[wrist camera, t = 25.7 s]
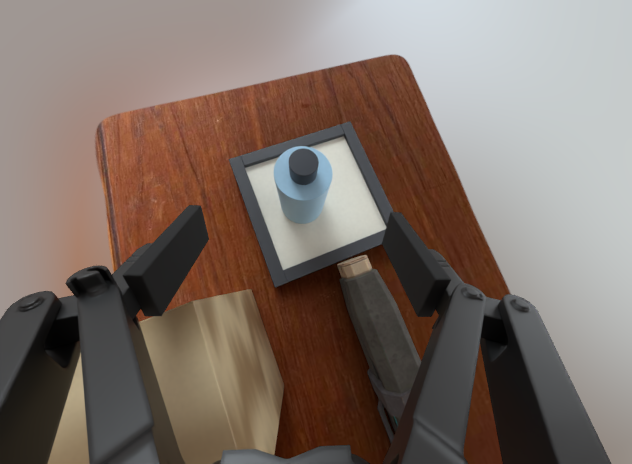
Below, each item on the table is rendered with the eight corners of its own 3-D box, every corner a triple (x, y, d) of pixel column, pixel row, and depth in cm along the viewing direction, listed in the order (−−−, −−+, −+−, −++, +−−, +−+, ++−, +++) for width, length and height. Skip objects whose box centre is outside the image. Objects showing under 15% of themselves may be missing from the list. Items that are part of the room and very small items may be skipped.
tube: (369, 255, 33) (486, 506, 25) (327, 273, 34) (427, 523, 25) (372, 242, 23) (576, 666, 14) (312, 267, 24) (473, 688, 15)
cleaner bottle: (275, 192, 30) (261, 143, 19) (313, 178, 31) (321, 125, 20) (289, 230, 29) (284, 201, 19) (329, 215, 30) (345, 179, 19)
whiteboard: (232, 165, 32) (228, 159, 30) (347, 129, 34) (350, 121, 33) (276, 287, 29) (274, 287, 27) (398, 237, 31) (404, 234, 30)
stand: (154, 327, 27) (-48, 395, 11) (251, 288, 29) (193, 300, 13) (182, 434, 25) (-16, 696, 9) (284, 385, 27) (263, 537, 11)
